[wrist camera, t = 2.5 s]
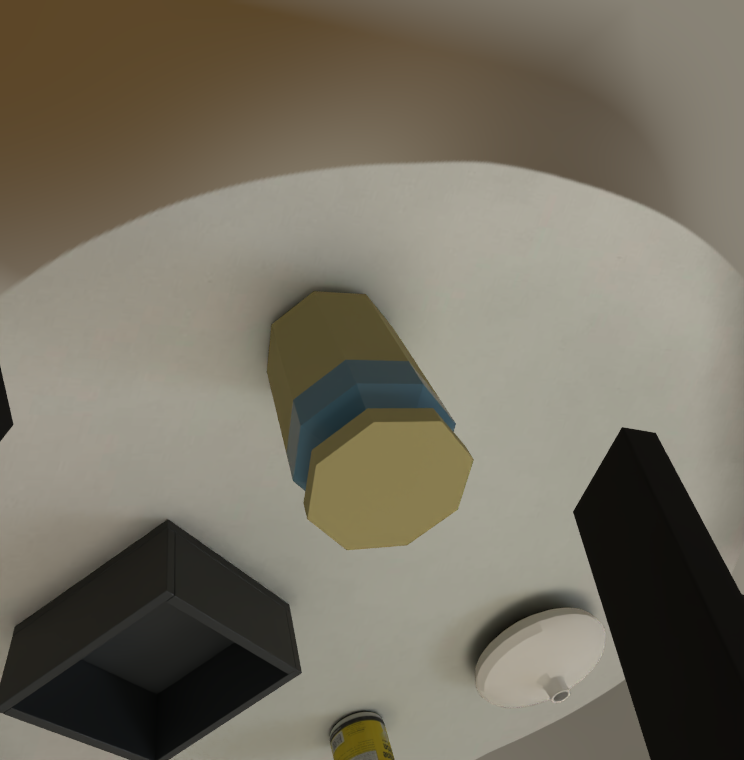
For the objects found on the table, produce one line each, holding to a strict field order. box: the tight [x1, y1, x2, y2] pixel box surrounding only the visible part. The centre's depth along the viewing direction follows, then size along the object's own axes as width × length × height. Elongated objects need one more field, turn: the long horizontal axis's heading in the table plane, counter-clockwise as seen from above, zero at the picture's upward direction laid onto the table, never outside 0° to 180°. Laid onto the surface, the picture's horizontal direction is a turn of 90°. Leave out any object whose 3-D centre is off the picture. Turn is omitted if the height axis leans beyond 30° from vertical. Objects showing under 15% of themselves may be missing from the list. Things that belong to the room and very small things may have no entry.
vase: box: [475, 607, 606, 708], centre depth 66 cm, size 16×16×7 cm
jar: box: [267, 291, 474, 550], centre depth 35 cm, size 9×9×15 cm
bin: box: [0, 520, 302, 760], centre depth 48 cm, size 16×16×7 cm
